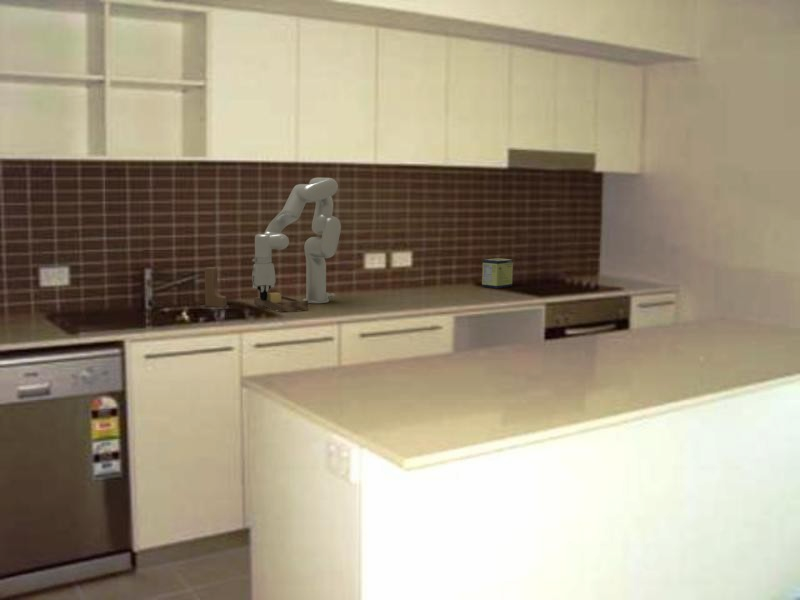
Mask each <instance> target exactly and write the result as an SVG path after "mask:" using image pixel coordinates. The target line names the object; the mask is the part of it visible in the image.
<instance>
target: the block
mask: <svg viewBox="0 0 800 600" xmlns="http://www.w3.org/2000/svg"><path fill="white" fill-rule="evenodd" d="M281 296H282V293H281V292H267V301H271V302H274V303H276V302H281Z"/></svg>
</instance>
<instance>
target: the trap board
mask: <svg viewBox="0 0 800 600" xmlns="http://www.w3.org/2000/svg"><path fill="white" fill-rule="evenodd" d="M253 298H254V303H255V305H257V304H258V306H260V305H261V307H263V306H265V307H264V308H266V307H268V308H267V309H269V308H271V309H270V310H272V309H274V310H273V311H275V310H278V311H280V312H279V313H284V312H283V311H293V312H298V311H297V310H306V311H309V303H308V301H303V300H297V299H294V298H291V297H287V296H285V295H281V302H276V303H274V302H271V301H267V300H266V301H265V300H264V301H263V300H261V299H260V297H257V296H254V297H253ZM278 311H277V312H278Z"/></svg>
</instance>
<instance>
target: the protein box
mask: <svg viewBox="0 0 800 600" xmlns="http://www.w3.org/2000/svg"><path fill="white" fill-rule="evenodd" d="M513 269H514V259H510V258H499V257H497V258H489V259H482V275H481V276H482V277H481V287H482V288H487V289H489V288H491V289H504V288H509V286H511V287H513V275H514V273H513V271H514V270H513ZM503 287H504V288H503Z"/></svg>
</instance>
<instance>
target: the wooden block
mask: <svg viewBox="0 0 800 600" xmlns="http://www.w3.org/2000/svg"><path fill="white" fill-rule="evenodd" d="M204 295H205V296H204V301H205V303H204V306H205V307H208V308H209V307H210V308H225V307H227V304H228V303H227V302H228V301H227V296H225V295H222V294H220V293H219V290H218V268H217V267H214V266H213V267H211V266H210V267H205V268H204Z"/></svg>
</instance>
